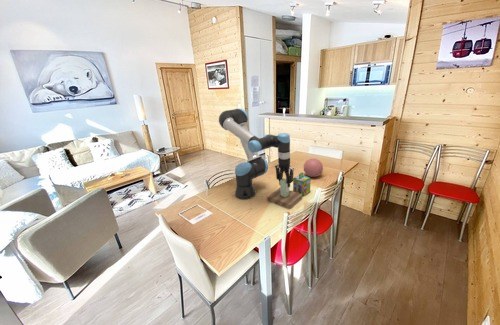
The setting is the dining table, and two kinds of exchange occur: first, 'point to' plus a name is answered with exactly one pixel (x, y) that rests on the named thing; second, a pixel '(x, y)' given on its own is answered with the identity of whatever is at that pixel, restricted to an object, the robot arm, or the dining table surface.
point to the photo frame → (199, 217)
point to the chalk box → (301, 184)
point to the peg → (283, 188)
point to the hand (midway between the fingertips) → (284, 190)
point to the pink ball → (313, 167)
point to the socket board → (282, 201)
